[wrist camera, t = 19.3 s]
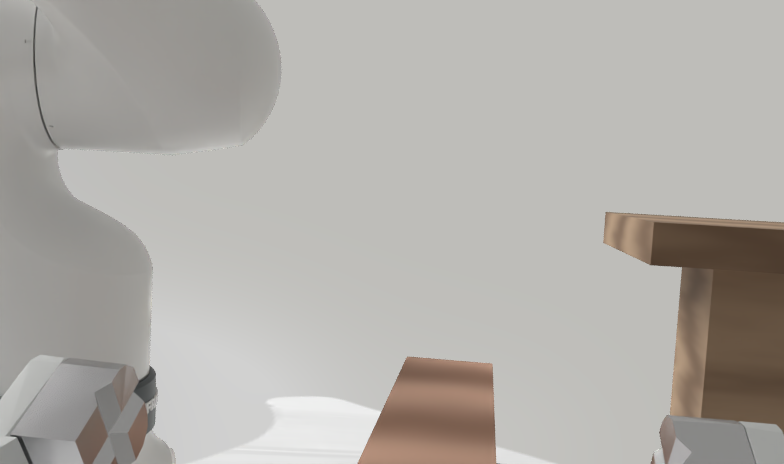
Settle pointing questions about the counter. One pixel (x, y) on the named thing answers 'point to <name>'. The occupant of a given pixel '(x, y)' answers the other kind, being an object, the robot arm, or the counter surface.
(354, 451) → the counter surface
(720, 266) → the walnut pedestal
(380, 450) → the block
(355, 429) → the counter surface
